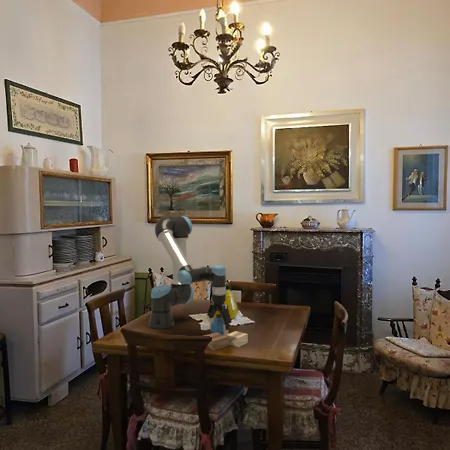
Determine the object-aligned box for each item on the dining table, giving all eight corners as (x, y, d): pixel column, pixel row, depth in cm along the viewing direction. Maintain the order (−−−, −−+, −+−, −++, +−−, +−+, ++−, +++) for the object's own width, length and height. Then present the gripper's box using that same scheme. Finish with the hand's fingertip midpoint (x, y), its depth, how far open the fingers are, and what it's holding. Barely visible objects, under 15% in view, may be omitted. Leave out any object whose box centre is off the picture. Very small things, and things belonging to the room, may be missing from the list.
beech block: (226, 344, 224) (226, 334, 223) (235, 340, 230) (235, 331, 230) (238, 347, 219) (238, 337, 218) (247, 343, 225) (247, 334, 224)
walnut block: (201, 345, 222) (201, 336, 221) (216, 341, 228) (216, 332, 228) (213, 350, 214) (213, 341, 214) (228, 346, 220) (228, 336, 220)
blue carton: (217, 338, 231) (217, 317, 231) (211, 336, 236) (211, 314, 236) (226, 336, 235) (226, 315, 234) (220, 333, 240) (220, 312, 239)
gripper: (200, 290, 242) (200, 328, 244) (226, 299, 222) (226, 339, 223) (211, 289, 247) (211, 325, 248) (238, 297, 226) (238, 336, 228)
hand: (218, 332), depth 236 cm, fingers open, 13 cm apart
